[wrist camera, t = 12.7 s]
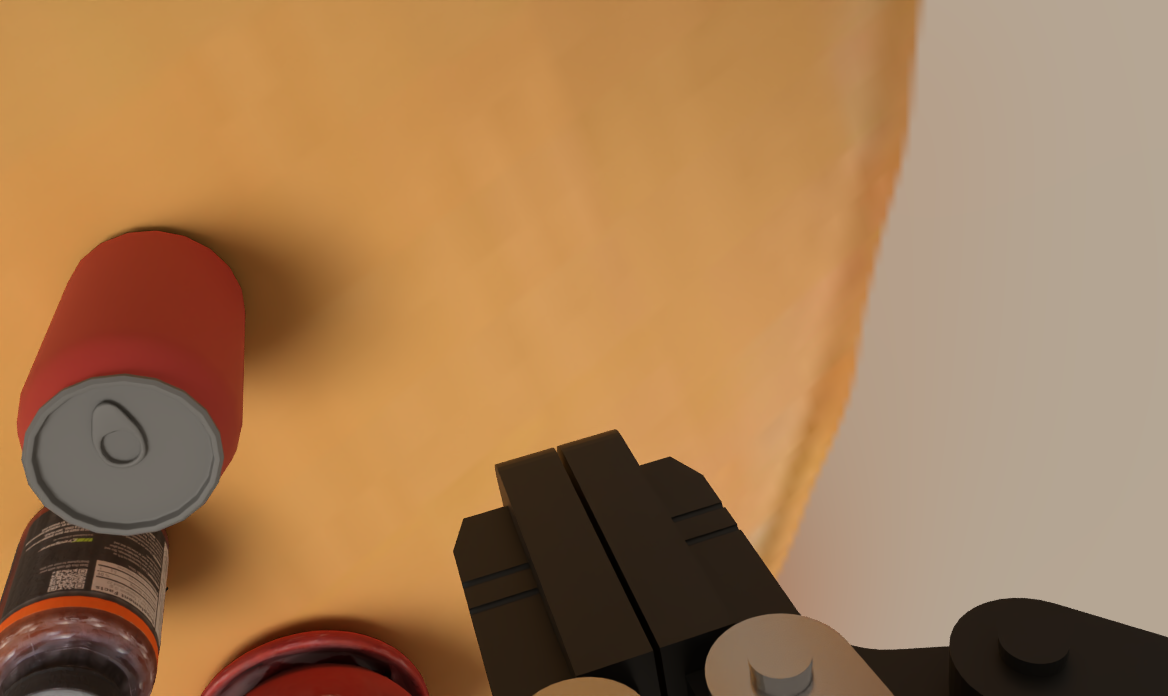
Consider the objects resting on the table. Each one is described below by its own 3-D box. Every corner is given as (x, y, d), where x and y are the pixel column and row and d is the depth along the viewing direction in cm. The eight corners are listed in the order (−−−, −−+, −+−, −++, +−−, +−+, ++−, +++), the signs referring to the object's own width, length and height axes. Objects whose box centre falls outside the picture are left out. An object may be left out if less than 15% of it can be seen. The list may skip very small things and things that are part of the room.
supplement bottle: (82, 619, 46) (35, 828, 37) (-11, 530, 43) (-89, 731, 34) (200, 553, 47) (184, 744, 37) (115, 460, 44) (75, 640, 34)
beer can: (216, 207, 40) (201, 336, 30) (265, 354, 43) (268, 516, 33) (39, 247, 39) (-39, 396, 29) (103, 395, 42) (53, 577, 32)
